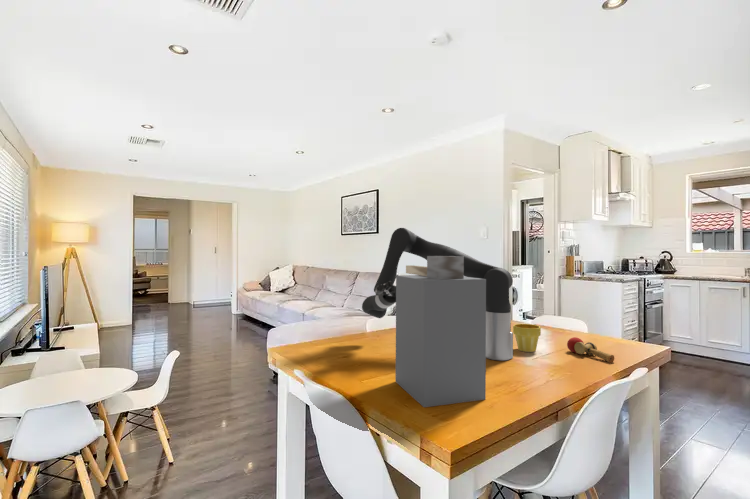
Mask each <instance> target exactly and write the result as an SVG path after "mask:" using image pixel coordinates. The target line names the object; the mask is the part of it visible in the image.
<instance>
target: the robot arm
mask: <svg viewBox="0 0 750 499" xmlns="http://www.w3.org/2000/svg"><path fill="white" fill-rule="evenodd" d="M404 252H405V253H408V254H412V255H414V256H416V257H417V256H418V257H420V258H422V259H425V260H426V261H427V256H464V277H472V278H480V279H486V359H489V360H491V361H492V360H493V361H509V360H511V359H513V358H514V333H513V331H511V330H512V329H511V327H512V324H511V323H512V322H511V321H512V315H511V314H512V313H511V312H512V309H511V308H512V304H511V303H510V288H511V287H512V285H513V282H514V281H513V276H512V275H511V273H510V272H509V271H508V270H507V269H505V268H502V267H498V266H496V265H495V266H494V265H492V264H488V263H485V262H482V261H480V260H478V259H475V258H474V257H472V256H470V255H469V254H466V253H464V252H462V251H460V250H457V249H455V248H453V247H450V246H447V245H444V244H441V243H436V242H431V241H428V240H426V239H425V238H422V237H421V236H419V235H417V234H415V233H414V232H413V231H411V230H409V229H407V228H406V227H398V228H396V229H395V230H394V231H393V232H392V234H391V237H390V240H389V244H388V249H387V251H386V256H385V258H384V262H383V266H382V269H381V271H380V273H379V276H378V278H377V280H376V282H375V285H374V288H373V292H374V293H375V294H373V295H370V296H369V295H368V297H366V298H365V299H364V300H363V302H362V304H361V309H362V311H363V313H365V314H367V315H368V316H369V315H370V316H372V317H375V318H377V319H382V318H384V317H385V316H386V314H387V310H388V309H389V308H390V307H392V306H393V305H394V304H396V284H395V283H396V275H397V272H398V266H399V262H400V260H401V257H402V255H403V254H404Z"/></svg>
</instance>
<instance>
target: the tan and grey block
mask: <svg viewBox="0 0 750 499" xmlns="http://www.w3.org/2000/svg"><path fill="white" fill-rule="evenodd" d="M405 274H408V275H422V276H427V278H433V279H464V277H465V276H464V256H427V260H426V266H424V265H423V266H422V265H414V264H413V265H407V264H406V265H405Z"/></svg>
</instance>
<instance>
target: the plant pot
mask: <svg viewBox="0 0 750 499" xmlns="http://www.w3.org/2000/svg"><path fill="white" fill-rule="evenodd" d="M541 331H542V328H541V326H540V325H537V324H532V323H515V324H513V325H512V333H513V335H514V336H515V340H516V345H517V349H518V351H520V352H524V353H534V352H536V351H537V347H538V342H539V338H540V336H541V333H542V332H541Z"/></svg>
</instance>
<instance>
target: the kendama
mask: <svg viewBox="0 0 750 499" xmlns="http://www.w3.org/2000/svg"><path fill="white" fill-rule="evenodd" d="M566 347H567V349H568V350H569V351H570V352H572V353H573V352H574V353H575V354H579V355H583V354H584V353H585V354H586V355H588V354H589V356H595V357H597V358H600V359H602V360H603V361H606V362H607V363H613V362H614V361H615V355H613V354H610V353H607V352H605V351H602V350H598V347H597V345H596V344H595V342H589V341H588V342H586V343H585V342H584V341H583V340H582V339H581V338H579V337H577V336H576V337H571V338H569V339H568V340H567V343H566Z"/></svg>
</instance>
